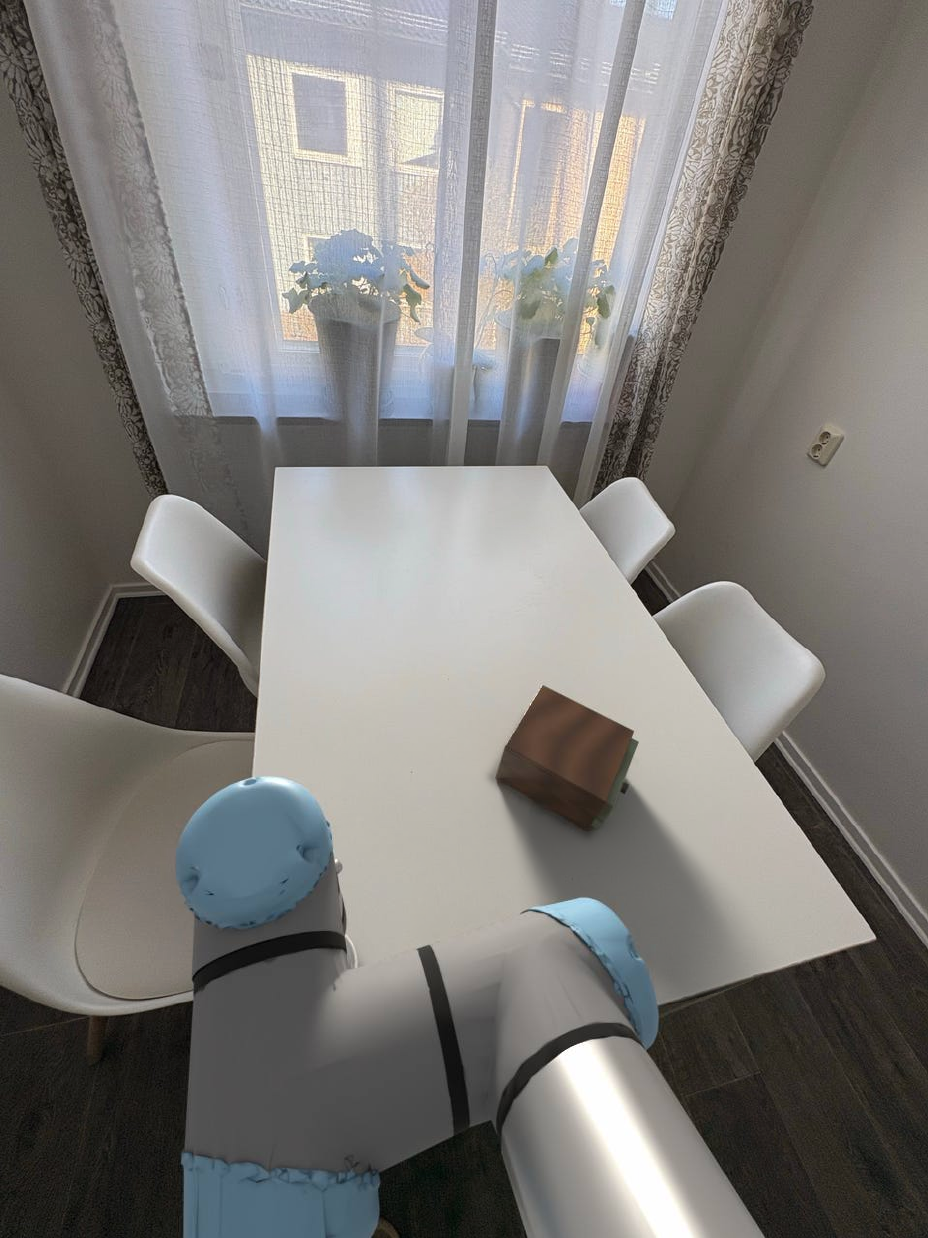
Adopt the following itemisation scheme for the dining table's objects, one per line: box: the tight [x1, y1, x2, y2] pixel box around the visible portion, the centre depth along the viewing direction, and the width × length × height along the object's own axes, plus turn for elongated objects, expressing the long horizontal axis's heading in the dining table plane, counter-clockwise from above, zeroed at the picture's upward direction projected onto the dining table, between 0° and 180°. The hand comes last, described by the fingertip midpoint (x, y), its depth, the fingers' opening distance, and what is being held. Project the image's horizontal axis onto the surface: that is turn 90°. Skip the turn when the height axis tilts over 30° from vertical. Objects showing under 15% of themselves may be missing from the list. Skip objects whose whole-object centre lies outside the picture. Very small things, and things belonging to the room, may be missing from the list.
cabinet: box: [495, 684, 635, 832], centre depth 75 cm, size 15×13×9 cm
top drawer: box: [590, 737, 640, 830], centre depth 75 cm, size 15×12×7 cm
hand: (319, 975), depth 52 cm, fingers open, 13 cm apart
